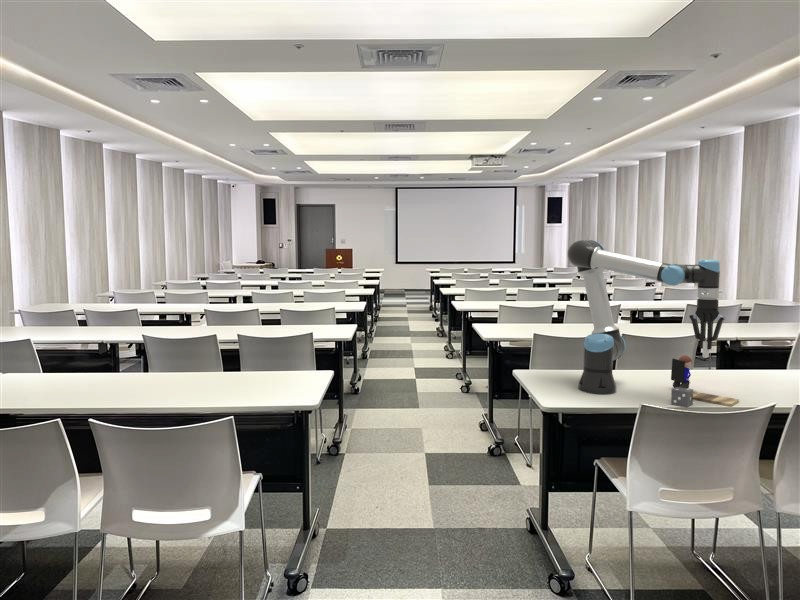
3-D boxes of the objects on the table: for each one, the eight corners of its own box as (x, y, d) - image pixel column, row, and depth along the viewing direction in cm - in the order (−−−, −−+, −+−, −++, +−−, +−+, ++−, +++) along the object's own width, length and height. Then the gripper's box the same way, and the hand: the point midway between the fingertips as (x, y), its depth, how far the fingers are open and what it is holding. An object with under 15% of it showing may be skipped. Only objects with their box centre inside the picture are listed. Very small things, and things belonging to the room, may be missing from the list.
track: (674, 396, 238) (674, 393, 238) (683, 392, 245) (683, 389, 245) (730, 406, 223) (731, 404, 223) (738, 401, 230) (739, 399, 230)
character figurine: (693, 392, 244) (694, 357, 242) (674, 392, 245) (676, 357, 243) (687, 388, 251) (688, 354, 250) (669, 387, 252) (670, 353, 251)
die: (670, 404, 226) (671, 389, 225) (676, 401, 230) (677, 386, 230) (687, 407, 222) (688, 392, 221) (692, 404, 226) (693, 389, 226)
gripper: (687, 298, 233) (685, 356, 235) (722, 300, 224) (720, 360, 226) (693, 297, 238) (691, 353, 240) (728, 298, 229) (726, 357, 231)
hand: (705, 357), depth 233 cm, fingers closed
